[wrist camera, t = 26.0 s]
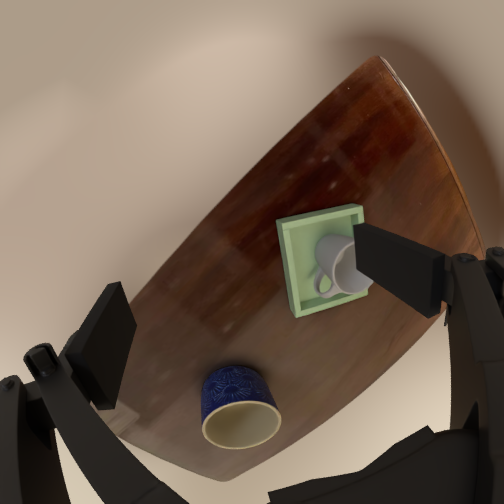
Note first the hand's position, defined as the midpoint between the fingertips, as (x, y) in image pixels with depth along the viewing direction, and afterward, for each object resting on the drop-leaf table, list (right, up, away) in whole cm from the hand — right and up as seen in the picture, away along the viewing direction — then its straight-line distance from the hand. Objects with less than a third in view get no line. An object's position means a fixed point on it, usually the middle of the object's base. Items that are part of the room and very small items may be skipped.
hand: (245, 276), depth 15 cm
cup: (+12, +1, +30) cm, 32 cm away
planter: (-3, -23, +34) cm, 41 cm away
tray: (+11, 0, +30) cm, 33 cm away
